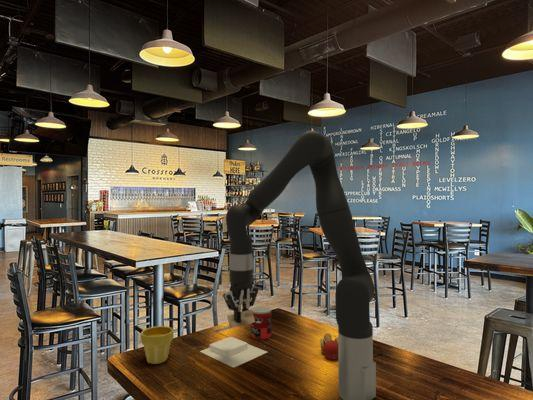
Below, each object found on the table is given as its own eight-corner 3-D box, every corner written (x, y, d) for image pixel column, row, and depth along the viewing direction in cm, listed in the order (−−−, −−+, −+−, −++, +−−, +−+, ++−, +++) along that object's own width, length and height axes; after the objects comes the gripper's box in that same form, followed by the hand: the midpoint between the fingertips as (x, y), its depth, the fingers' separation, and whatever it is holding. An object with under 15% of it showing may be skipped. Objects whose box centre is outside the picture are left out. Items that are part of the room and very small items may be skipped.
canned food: (248, 335, 144) (248, 307, 144) (266, 332, 147) (266, 305, 147) (255, 342, 137) (255, 313, 137) (274, 339, 140) (274, 310, 140)
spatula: (260, 320, 115) (256, 307, 116) (243, 325, 110) (240, 312, 111) (229, 327, 126) (226, 315, 127) (212, 332, 121) (210, 320, 122)
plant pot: (158, 350, 130) (158, 323, 130) (179, 357, 124) (179, 328, 124) (134, 362, 121) (134, 332, 121) (156, 369, 116) (156, 339, 115)
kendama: (315, 344, 138) (319, 358, 120) (318, 327, 139) (322, 339, 121) (335, 348, 138) (342, 363, 120) (338, 331, 138) (345, 344, 121)
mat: (267, 353, 127) (267, 351, 127) (233, 369, 116) (233, 367, 116) (233, 339, 140) (233, 338, 140) (199, 352, 128) (199, 351, 128)
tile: (247, 343, 130) (231, 336, 136) (226, 351, 123) (209, 344, 129) (247, 348, 130) (231, 342, 136) (226, 357, 123) (209, 350, 129)
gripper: (231, 272, 108) (232, 330, 108) (264, 266, 118) (265, 319, 118) (216, 268, 114) (216, 324, 114) (249, 263, 123) (249, 313, 124)
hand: (241, 321), depth 116 cm, fingers closed on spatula, 2 cm apart
